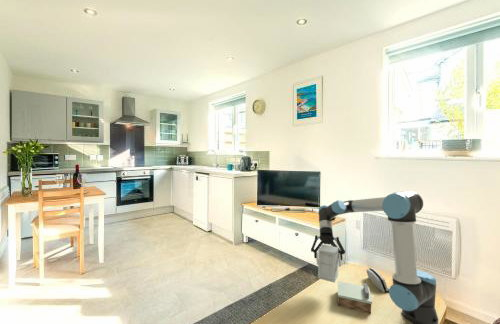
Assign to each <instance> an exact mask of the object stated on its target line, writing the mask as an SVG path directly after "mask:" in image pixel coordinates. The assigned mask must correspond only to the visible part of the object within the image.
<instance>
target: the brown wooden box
mask: <svg viewBox="0 0 500 324" xmlns="http://www.w3.org/2000/svg"><path fill="white" fill-rule="evenodd" d="M337 306H338V307H340V308H345V309H349V310H352V311H353V310H354V311H357V312H358V311H359V312H363V313H367V314H371V313H372V304H369V303H364V302H359V301H355V300H350V299H345V298H340V297H338V296H337Z"/></svg>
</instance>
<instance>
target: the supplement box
mask: <svg viewBox="0 0 500 324" xmlns="http://www.w3.org/2000/svg"><path fill="white" fill-rule="evenodd" d="M338 248H339V246H337V247H333V246H332V245H329V244H322V245H321V247H320V248H319V249H318V251H317V252H318V265H317V279H319V280H324V281H327V282H330V283H336V280H337V279H338V277H339V259H338V254H339V253H338Z"/></svg>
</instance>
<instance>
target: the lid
mask: <svg viewBox="0 0 500 324" xmlns="http://www.w3.org/2000/svg"><path fill="white" fill-rule="evenodd" d="M338 297H340V298H345V299H350V300H355V301H359V302H364V303H369V304H371V305H372V304H373V300H372V296H371V291H370V287H369V286H368V283H366V282H364V283H363V285H361V284H356V283H349V282H344V281H339V280H338V281H337V298H338Z"/></svg>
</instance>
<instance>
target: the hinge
mask: <svg viewBox="0 0 500 324" xmlns="http://www.w3.org/2000/svg"><path fill="white" fill-rule="evenodd" d="M365 270H366V275H367V277H368V278H367V279H369V280H370V281H371V283H373V284H374V285H375V286H376V287H377V288H378V289H379V290H380V291H381V292H382V293H385V292H389V289H390V287H388V286H387V283H386V281H385V280H386V279H384V277H383V276H382V275H381V274H380V272H379V271H378V270H376V269H375V268H373V267H369V268H367V269H365Z"/></svg>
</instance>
